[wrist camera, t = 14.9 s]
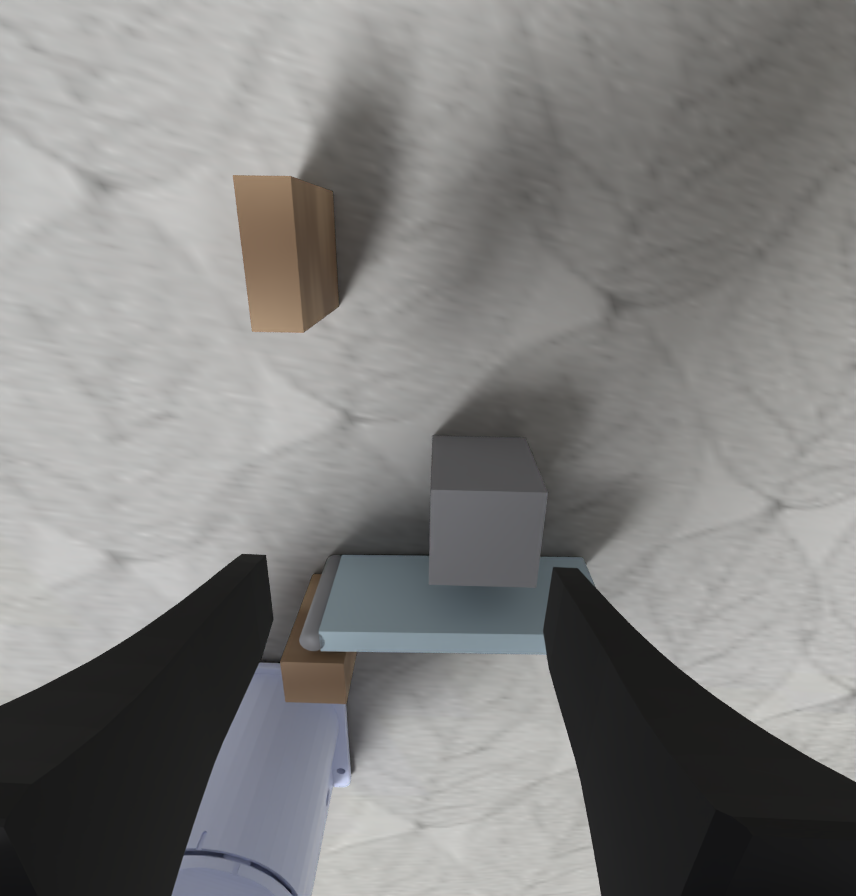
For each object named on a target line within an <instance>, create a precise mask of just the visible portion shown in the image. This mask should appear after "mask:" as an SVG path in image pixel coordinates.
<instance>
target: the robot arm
mask: <svg viewBox="0 0 856 896" xmlns="http://www.w3.org/2000/svg"><path fill="white" fill-rule="evenodd" d="M272 622H273V611H272V603H271V594H270V585H269V577H268V568H267V560H266V555H254V554H241V555H240V556H239V557H237V558H236V559H235V560H233V561H232V562H231V563H229V564H228V565H227V566H226V567H224V568H223V569H222V570H221V571H219V572H218V573H217V574H216V575H214V576H213V577H212V578H211V579H209V580H208V581H207V582H206V583H204V584H203V585H202V586H200V587H199V588H198V589H196V590H195V591H194V592H193V593H191V594H190V595H189V596H187V597H186V598H185V599H184V600H182V601H181V602H180V603H178V604H177V605H175V606H174V607H173V608H171V609H170V610H168V611H167V612H166V613H164V614H163V615H161V616H160V617H158V618H157V619H156V620H154V621H153V622H151V623H150V624H149V625H147V626H146V627H144V628H143V629H141V630H140V631H138V632H137V633H135V634H134V635H132V636H131V637H129V638H128V639H126V640H124V641H123V642H121V643H120V644H118V645H116V646H115V647H113V648H111V649H110V650H108V651H106V652H105V653H103V654H101V655H100V656H98V657H96V658H95V659H93V660H91V661H89V662H87V663H86V664H84V665H82V666H80V667H78V668H76V669H74V670H72V671H70V672H68V673H67V674H65V675H63V676H61V677H59V678H57V679H55V680H53V681H51V682H49V683H48V684H46V685H44V686H42V687H40V688H38V689H36V690H33V691H31V692H29V693H27V694H25V695H23V696H21V697H19V698H16V699H14V700H12V701H10V702H8V703H5V704H3V705H1V706H0V896H311V895H312V891H313V886H314V880H315V875H316V870H317V865H318V860H319V855H320V850H321V845H322V840H323V834H324V829H325V824H326V819H327V814H328V809H329V804H330V799H331V794H332V788H333V787H346V786H348V785H349V784H350V781H351V767H350V753H349V739H348V724H347V710H346V704H326V703H295V702H285V695H284V688H283V681H282V673H281V666H280V663H259V662H260V660H261V657H262V655H263V651H264V648H265V645H266V642H267V639H268V636H269V632H270V629H271V625H272ZM543 634H544V641H545V647H546V654H547V660H548V665H549V670H550V674H551V678H552V681H553V685H554V688H555V692H556V695H557V699H558V702H559V706H560V709H561V713H562V716H563V719H564V723H565V726H566V730H567V733H568V736H569V740H570V743H571V747H572V750H573V754H574V757H575V761H576V765H577V769H578V773H579V777H580V781H581V786H582V791H583V796H584V801H585V807H586V812H587V817H588V822H589V827H590V833H591V839H592V844H593V850H594V855H595V861H596V867H597V872H598V878H599V884H600V890H601V896H856V782H855V781H853V780H851V779H849V778H847V777H845V776H844V775H842V774H840V773H838V772H836V771H834V770H832V769H830V768H829V767H827V766H825V765H823V764H821V763H819V762H817V761H815V760H814V759H812V758H810V757H808V756H807V755H805V754H803V753H801V752H800V751H798V750H796V749H795V748H793V747H791V746H790V745H788V744H786V743H785V742H783V741H781V740H780V739H778V738H776V737H775V736H773V735H772V734H770V733H768V732H767V731H765V730H764V729H762V728H761V727H759V726H757V725H756V724H754V723H753V722H751V721H750V720H748V719H747V718H745V717H744V716H742V715H741V714H739V713H738V712H737V711H735V710H734V709H732V708H731V707H729V706H728V705H726V704H725V703H724V702H722V701H721V700H719V699H718V698H717V697H715V696H714V695H712V694H711V693H710V692H708V691H707V690H706V689H704V688H703V687H702V686H700V685H699V684H698V683H697V682H695V681H694V680H693V679H692V678H690V677H689V676H688V675H687V674H685V673H684V672H683V671H682V670H680V669H679V668H678V667H677V666H675V665H674V664H673V663H672V662H671V661H670V660H668V659H667V658H666V657H665V656H664V655H663V654H662V653H660V652H659V651H658V650H657V649H656V648H655V647H654V646H653V645H652V644H651V643H650V642H648V641H647V640H646V639H645V638H644V637H643V636H642V635H641V634H640V633H639V632H638V631H637V630H636V629H635V628H634V627H633V626H632V625H631V624H630V623H629V622H628V621H627V620H626V619H625V618H624V617H623V616H622V615H621V614H620V613H619V612H618V611H617V610H616V609H615V608H614V607H613V606H612V605H611V604H610V603H609V602H608V601H607V599H606V598H605V597H604V596H603V595H602V594H601V593H600V592H599V591H598V590H597V589H596V587H595V586H594V585H593V584H592V583H591V582H590V581H589V580H588V579H587V578H586V576H585V575H584V574H583V573H582V572H581V571H580V570H579V569H578V568H567V567H553V570H552V577H551V583H550V589H549V595H548V602H547V608H546V614H545V621H544V627H543Z"/></svg>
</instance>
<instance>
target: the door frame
mask: <svg viewBox="0 0 856 896" xmlns="http://www.w3.org/2000/svg"><path fill="white" fill-rule="evenodd" d="M233 181H234V189H235V197H236V205H237V213H238V221H239V229H240V238H241V246H242V254H243V262H244V270H245V278H246V286H247V295H248V303H249V311H250V319H251V327H252V332H295V333H304V332H305V331H307V330H308V329H309V328H311V327H312V326H313V325H315V324H316V323H317V322H319V321H320V320H321V319H323V318H324V317H326V316H327V315H328V314H330V313H331V312H332V311H334V310H335V309H336V308H338V307H339V296H338V277H337V259H336V240H335V221H334V203H333V191H330V190H327V189H324V188H322V187H319V186H316V185H313V184H311V183H308V182H305V181H302V180H300V179H297V178H294V177H292V176H244V175H233ZM321 575H322V574H313V575H312V578H311V580H310V583H309V586H308V588H307V591H306V594H305V596H304V599H303V602H302V604H301V607H300V610H299V612H298V615H297V618H296V620H295V623H294V626H293V628H292V631H291V634H290V636H289V639H288V642H287V644H286V647H285V650H284V652H283V655H282V658H281V660H280V666H281V673H282V681H283V688H284V695H285V702H295V703H326V704H347V699H348V694H349V689H350V684H351V679H352V674H353V669H354V664H355V659H356V654H357V652H339V651H321V649H320V650H318V651H309V650H306V649H304V648H303V647H302V646H301V645H300V642H299V638H300V635H301V632H302V629H303V627H304V624H305V621H306V618H307V615H308V612H309V609H310V607H311V604H312V601H313V598H314V595H315V592H316V589H317V586H318V584H319V581H320V578H321Z"/></svg>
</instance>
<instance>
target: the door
mask: <svg viewBox="0 0 856 896" xmlns="http://www.w3.org/2000/svg"><path fill="white" fill-rule="evenodd" d="M553 567H567V568H578V569H579V570H580V571H581V572H582V573H583V574H584V575H585V576H586V578H587V579H588V580H589V581H590V582H591V583H592V584H593V585H594V586H595V584H594V582H593V580H592V578H591V575H590V573H589V571H588V568H587V566H586V564H585V561H584V559H583V557H540V562H539V570H538V578H537V586H536V588H527V587H491V586H455V585H429V556H402V555H342V556H340V555H332V556H330V557H328V559H327V561H326V564H325V566H324V569H323V572H322V575H321V578H320V581H319V584H318V586H317V589H316V592H315V595H314V598H313V601H312V604H311V607H310V609H309V612H308V615H307V618H306V621H305V624H304V627H303V629H302V632H301V635H300V638H299V642H300V645H301V646H302V647H303V648H304V649H306V650H309V651H318V650H320V649H321V651H339V652H409V653H478V654H546V647H545V641H544V634H543V627H544V621H545V614H546V608H547V602H548V595H549V589H550V583H551V577H552V570H553Z"/></svg>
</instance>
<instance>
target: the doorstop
mask: <svg viewBox="0 0 856 896" xmlns="http://www.w3.org/2000/svg"><path fill="white" fill-rule="evenodd" d="M547 498H548V491H547V489H546V486H545V484H544V481H543V479H542V476H541V474H540V472H539V469H538V467H537V464H536V462H535V459H534V457H533V455H532V452H531V450H530V447H529V445H528V442H527V440H526V438H515V437H473V436H433V440H432V466H431V494H430V543H429V585H455V586H491V587H527V588H536V586H537V578H538V570H539V562H540V554H541V546H542V538H543V530H544V522H545V514H546V506H547Z"/></svg>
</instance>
